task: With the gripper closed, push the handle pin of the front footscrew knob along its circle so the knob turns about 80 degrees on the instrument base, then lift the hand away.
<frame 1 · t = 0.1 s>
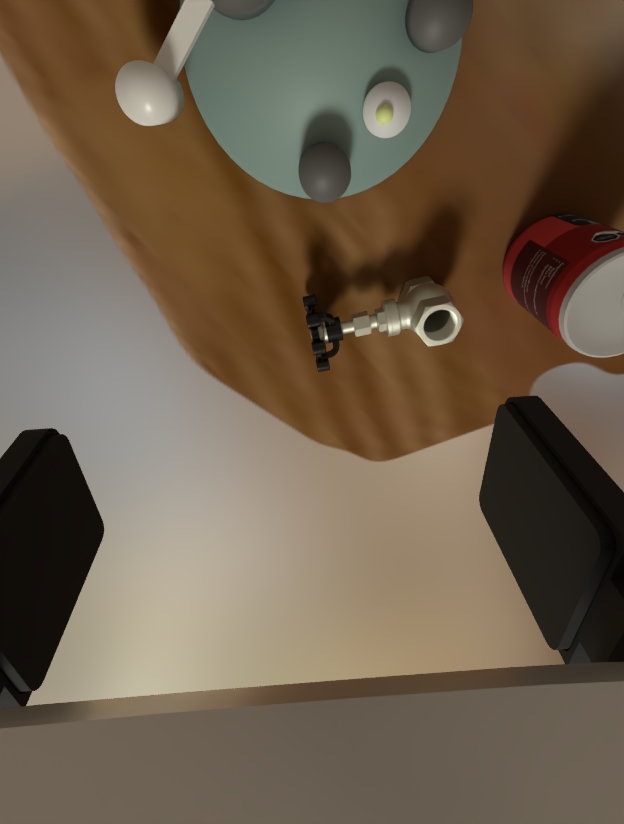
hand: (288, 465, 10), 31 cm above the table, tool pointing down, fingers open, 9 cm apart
instrument base: (321, 49, 31), on the table
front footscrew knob: (197, 12, 26), point 5 cm above the table, hinge at 0.0°
canned food: (544, 259, 40), on the table
valve: (374, 304, 41), on the table
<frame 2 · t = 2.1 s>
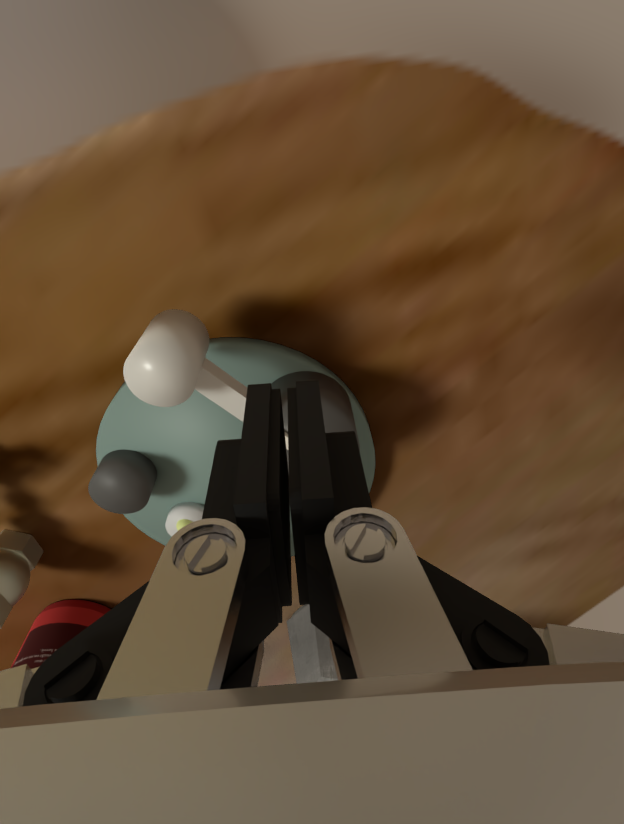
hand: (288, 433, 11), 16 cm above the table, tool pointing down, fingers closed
instrument base: (241, 458, 32), on the table
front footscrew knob: (255, 404, 24), point 5 cm above the table, hinge at 0.0°
coffeepot: (345, 619, 43), on the table
canned food: (85, 622, 42), on the table
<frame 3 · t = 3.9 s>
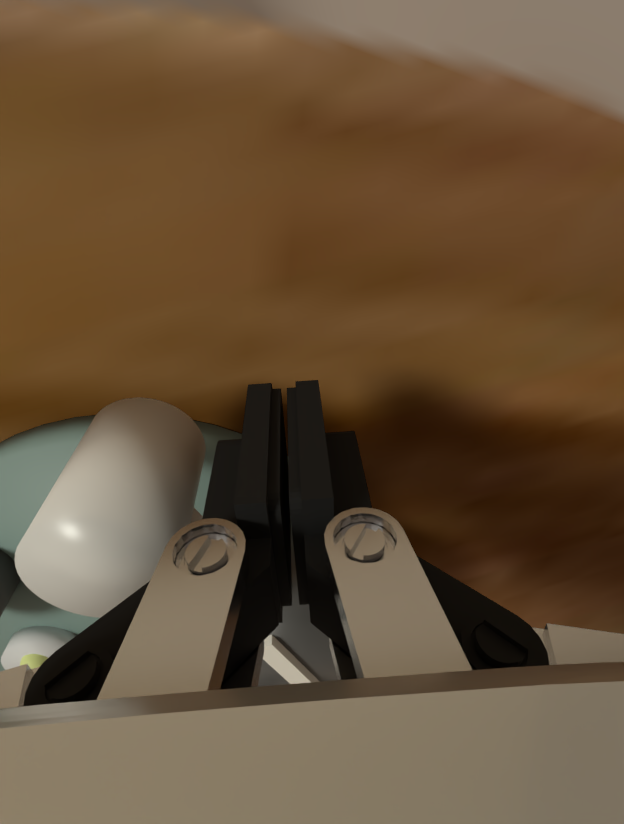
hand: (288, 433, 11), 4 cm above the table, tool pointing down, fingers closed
instrument base: (163, 580, 21), on the table
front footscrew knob: (242, 581, 14), point 5 cm above the table, hinge at 2.9°, touching gripper
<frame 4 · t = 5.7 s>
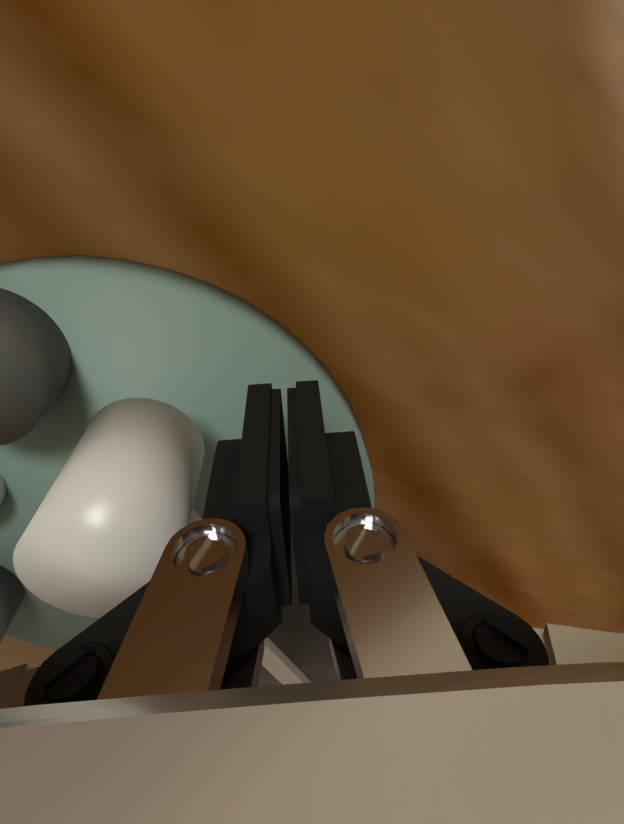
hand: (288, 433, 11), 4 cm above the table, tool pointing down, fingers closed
instrument base: (135, 494, 18), on the table
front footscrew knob: (238, 583, 14), point 5 cm above the table, hinge at 50.4°, touching gripper
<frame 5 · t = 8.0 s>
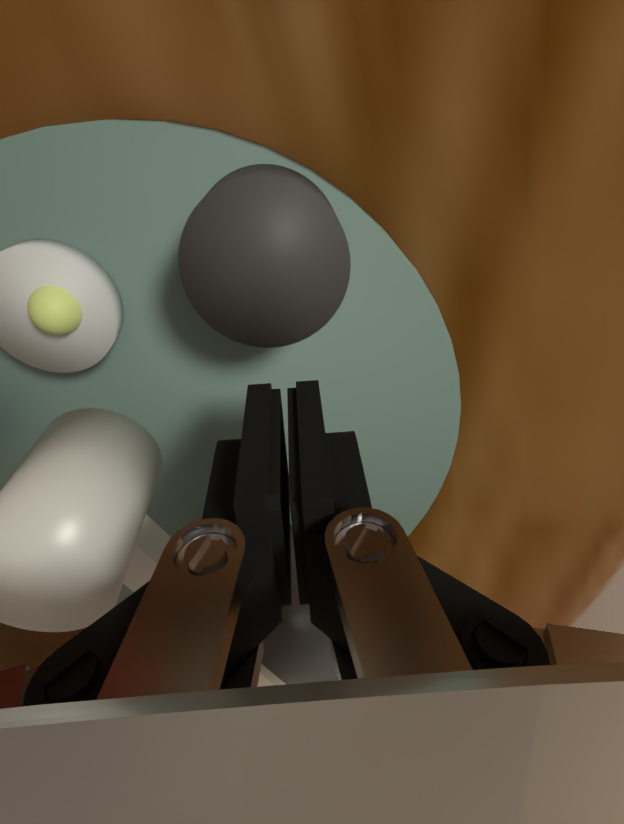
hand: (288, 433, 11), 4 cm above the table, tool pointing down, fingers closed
instrument base: (187, 426, 16), on the table
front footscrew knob: (207, 590, 14), point 5 cm above the table, hinge at 94.1°
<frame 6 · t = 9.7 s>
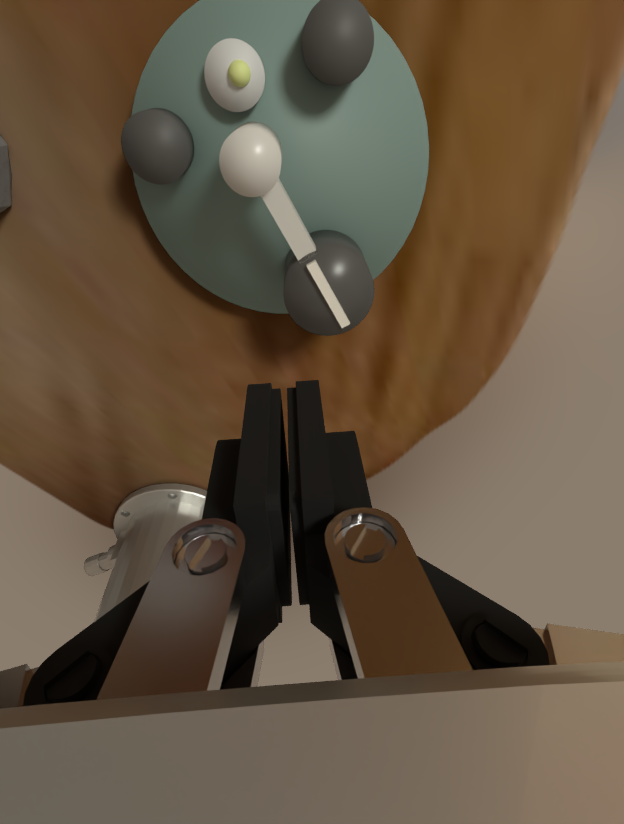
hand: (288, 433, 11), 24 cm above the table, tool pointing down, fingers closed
instrument base: (282, 172, 30), on the table
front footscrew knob: (299, 237, 28), point 5 cm above the table, hinge at 94.1°
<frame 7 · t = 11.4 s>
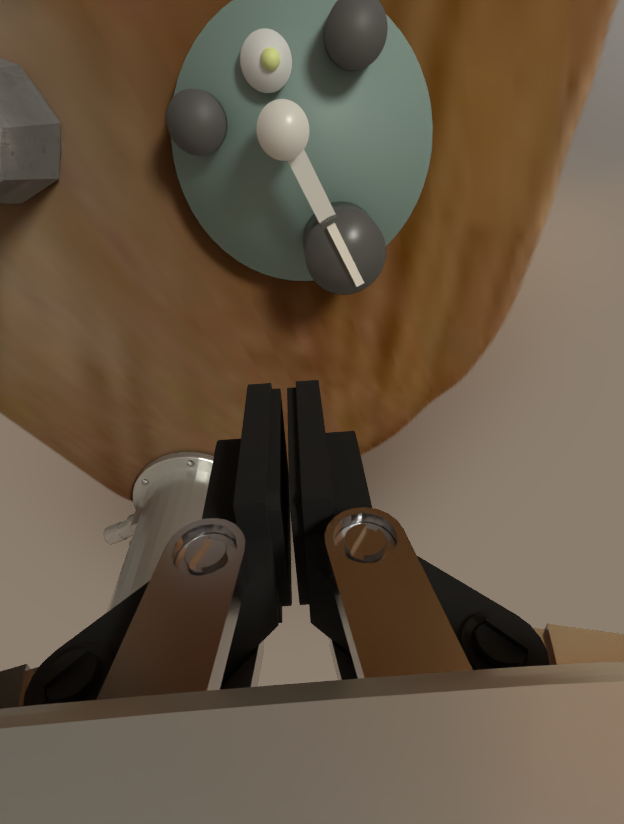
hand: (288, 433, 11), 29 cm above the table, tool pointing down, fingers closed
instrument base: (302, 151, 33), on the table
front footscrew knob: (320, 203, 31), point 5 cm above the table, hinge at 94.1°
coffeepot: (3, 147, 33), on the table
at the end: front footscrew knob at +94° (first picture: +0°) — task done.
